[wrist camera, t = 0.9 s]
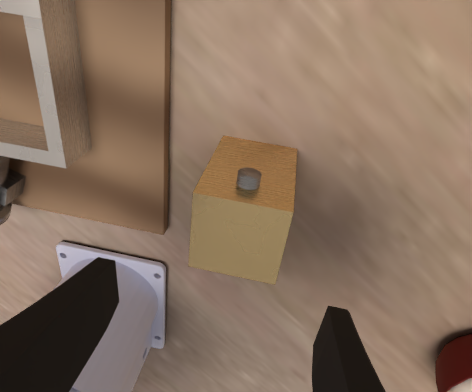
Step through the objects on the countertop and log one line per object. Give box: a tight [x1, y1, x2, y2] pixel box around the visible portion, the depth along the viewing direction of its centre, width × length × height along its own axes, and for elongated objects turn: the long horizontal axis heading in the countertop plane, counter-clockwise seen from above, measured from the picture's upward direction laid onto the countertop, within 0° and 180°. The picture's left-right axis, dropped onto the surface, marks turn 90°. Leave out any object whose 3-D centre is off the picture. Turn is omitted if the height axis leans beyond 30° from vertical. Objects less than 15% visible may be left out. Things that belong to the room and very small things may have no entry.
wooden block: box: [188, 136, 297, 285], centre depth 17 cm, size 5×4×6 cm
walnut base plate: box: [0, 0, 171, 235], centre depth 18 cm, size 18×16×1 cm
